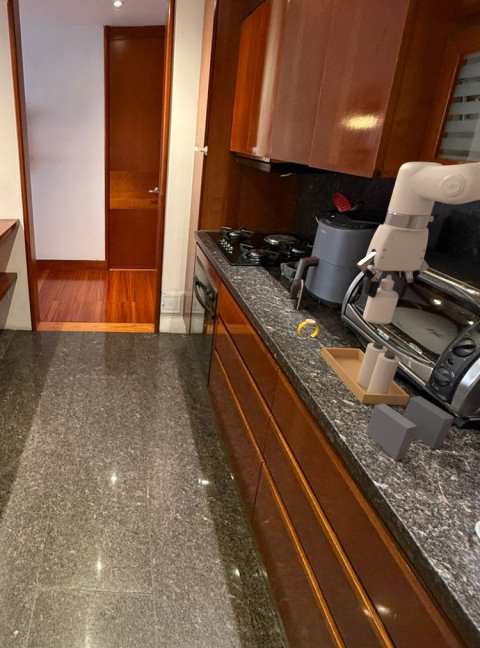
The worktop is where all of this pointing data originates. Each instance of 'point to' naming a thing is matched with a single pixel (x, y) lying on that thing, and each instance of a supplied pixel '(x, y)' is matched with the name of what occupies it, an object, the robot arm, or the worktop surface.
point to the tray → (348, 370)
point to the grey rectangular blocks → (408, 426)
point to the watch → (311, 322)
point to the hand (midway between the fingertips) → (383, 295)
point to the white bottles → (377, 369)
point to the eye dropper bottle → (381, 303)
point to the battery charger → (297, 292)
